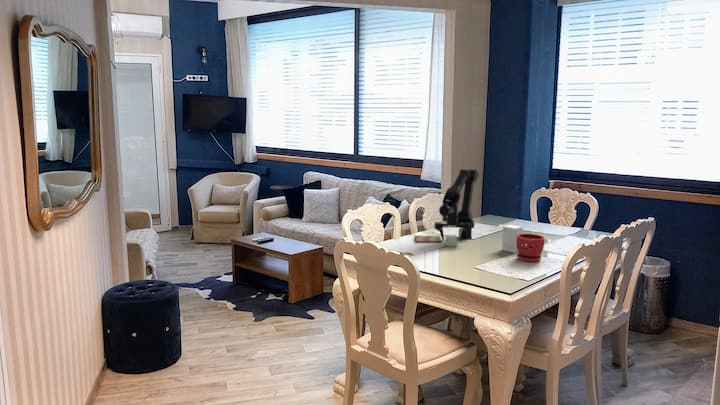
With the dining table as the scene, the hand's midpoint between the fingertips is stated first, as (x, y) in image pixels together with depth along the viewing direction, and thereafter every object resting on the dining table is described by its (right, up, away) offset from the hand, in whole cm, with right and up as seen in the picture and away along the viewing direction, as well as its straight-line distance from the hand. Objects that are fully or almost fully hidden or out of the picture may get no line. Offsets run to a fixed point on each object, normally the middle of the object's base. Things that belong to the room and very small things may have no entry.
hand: (451, 241), depth 304 cm
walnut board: (-12, 0, +11) cm, 16 cm away
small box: (+29, -4, -13) cm, 32 cm away
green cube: (0, -2, 0) cm, 2 cm away
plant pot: (+34, -7, -28) cm, 45 cm away
